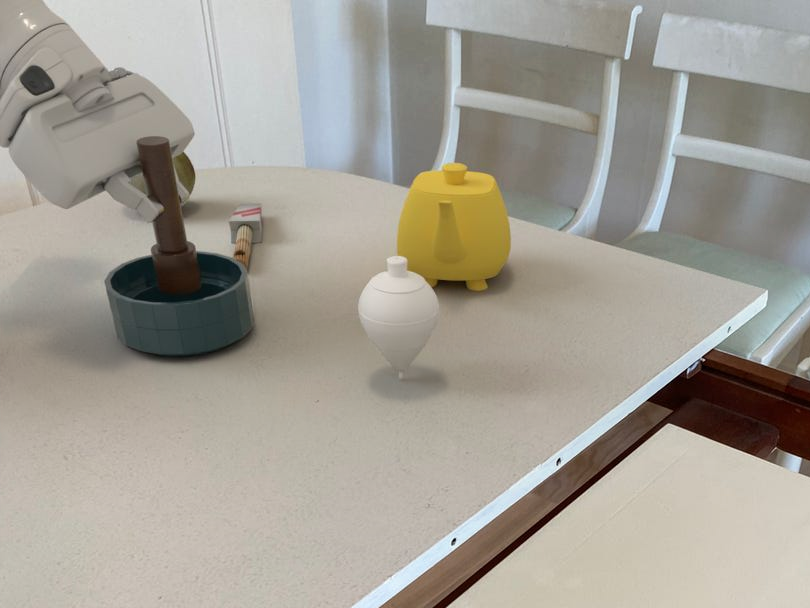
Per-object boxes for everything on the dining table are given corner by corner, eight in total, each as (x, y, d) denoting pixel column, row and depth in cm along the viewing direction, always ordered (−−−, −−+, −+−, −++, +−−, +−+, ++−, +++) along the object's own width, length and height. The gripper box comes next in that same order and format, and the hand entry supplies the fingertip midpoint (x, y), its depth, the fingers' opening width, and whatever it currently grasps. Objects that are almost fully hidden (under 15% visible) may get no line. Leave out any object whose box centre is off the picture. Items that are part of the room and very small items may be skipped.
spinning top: (453, 387, 96) (453, 265, 88) (382, 404, 93) (376, 280, 85) (417, 355, 101) (415, 238, 93) (350, 371, 98) (341, 251, 90)
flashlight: (154, 295, 99) (123, 147, 90) (162, 277, 103) (133, 133, 93) (198, 295, 100) (171, 147, 90) (205, 277, 103) (180, 133, 93)
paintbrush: (264, 191, 129) (253, 255, 115) (267, 212, 131) (256, 277, 117) (234, 191, 129) (220, 255, 114) (237, 212, 131) (223, 277, 116)
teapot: (386, 309, 110) (380, 193, 101) (408, 244, 124) (405, 139, 116) (504, 315, 109) (509, 199, 101) (512, 249, 124) (517, 144, 116)
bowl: (104, 362, 98) (89, 304, 94) (134, 304, 109) (122, 250, 105) (245, 361, 99) (236, 304, 95) (261, 304, 110) (254, 251, 106)
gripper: (114, 86, 101) (212, 198, 105) (-27, 138, 87) (92, 265, 91) (142, 41, 97) (242, 159, 101) (-2, 88, 82) (122, 223, 87)
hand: (170, 210), depth 96 cm, fingers closed on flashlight, 3 cm apart
